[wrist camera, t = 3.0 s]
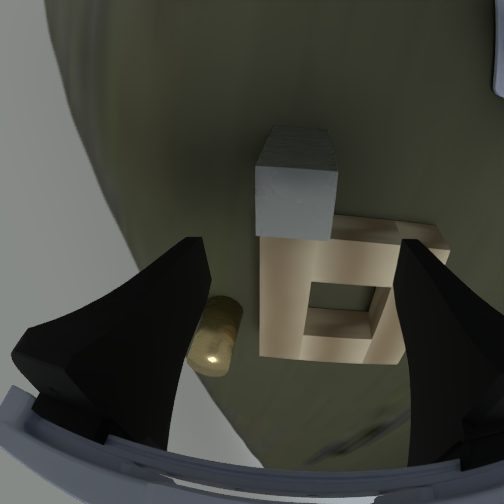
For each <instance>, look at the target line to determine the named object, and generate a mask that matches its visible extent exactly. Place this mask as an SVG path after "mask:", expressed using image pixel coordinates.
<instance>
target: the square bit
mask: <svg viewBox="0 0 504 504" xmlns="http://www.w3.org/2000/svg"><path fill="white" fill-rule="evenodd" d="M337 180H338V168H337V164H336V160H335V155H334V151H333V147H332V144H331V140H330V136H329V132H328V130H323V129H311V128H296V127H277V126H273V128H272V130H271V133H270V135H269V137H268V139H267V141H266V143H265V145H264V148H263V150H262V152H261V154H260V156H259V158H258V160H257V163H256V165H255V209H256V236H266V237H279V238H291V239H303V240H315V241H327V242H330V236H331V229H332V222H333V214H334V206H335V198H336V189H337Z"/></svg>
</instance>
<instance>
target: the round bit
mask: <svg viewBox="0 0 504 504" xmlns="http://www.w3.org/2000/svg"><path fill="white" fill-rule="evenodd" d="M242 315H243V309H242V307H241V305H240V304H239V303H238V302H237V301H235V300H234V299H232V298H229V297H226V296H216V297H213V298H211V299H210V300H209V301H208V303H207V306H206V309H205V311H204V314H203V317H202V319H201V322H200V325H199V327H198V330H197V333H196V335H195V338H194V341H193V343H192V346H191V349H190V352H189V354H188V357H187V363H188V365H189V366H190V367H191V368H192V369H193V370H195V371H196V372H198V373H200V374H203V375H206V376H211V377H220V376H223V375H225V374H227V372H228V369H229V365H230V361H231V358H232V354H233V350H234V346H235V342H236V338H237V334H238V330H239V327H240V323H241V319H242Z"/></svg>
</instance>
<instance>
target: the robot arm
mask: <svg viewBox="0 0 504 504" xmlns="http://www.w3.org/2000/svg"><path fill="white" fill-rule="evenodd" d="M495 12H496V46H495V66H494V78H493V91H494V93H495V94H496V95H498V96H501V97H503V98H504V0H495ZM211 281H212V279H211V275H210V270H209V266H208V262H207V257H206V253H205V249H204V244H203V240H202V237H186V238H184V239H183V240H181V241H180V242H179V243H177V244H176V245H175V246H173V247H172V248H171V249H169V250H168V251H167V252H166V253H164V254H163V255H162V256H161V257H159V258H158V259H157V260H155V261H154V262H153V263H152V264H150V265H149V266H148V267H146V268H145V269H144V270H142V271H141V272H139V273H138V274H137V275H135V276H134V277H133V278H131V279H130V280H129V281H127V282H126V283H124V284H123V285H121V286H120V287H118V288H117V289H115V290H113V291H112V292H110V293H108V294H107V295H105V296H103V297H102V298H100V299H98V300H96V301H94V302H92V303H90V304H88V305H86V306H84V307H83V308H81V309H78V310H76V311H74V312H72V313H69V314H67V315H65V316H62V317H60V318H57V319H55V320H52V321H49V322H46V323H43V324H40V325H37V326H35V327H31V328H28V329H27V330H26V332H25V333H24V335H23V336H22V337H21V339H20V341H19V342H18V343H17V345H16V346H15V348H14V349H13V351H12V353H11V357H12V360H13V362H14V364H15V365H16V367H17V368H18V369H19V370H20V372H21V373H22V374H23V375H24V376H25V377H26V378H27V379H28V380H29V382H30V383H31V384H32V385H33V386H34V387H35V388H36V389H37V390H38V391H39V392H40V393H39V395H38V397H37V398H35V397H34V396H32V395H31V394H30V393H28V392H25V391H24V390H22V389H20V388H18V387H16V386H14V385H12V386H11V388H10V390H9V391H8V393H7V395H6V397H5V399H4V400H3V402H2V404H1V406H0V447H1V448H2V449H3V450H5V451H6V452H7V453H8V454H10V455H11V456H12V457H14V458H15V459H16V460H17V461H19V462H20V463H21V464H23V465H24V466H26V467H27V468H28V469H30V470H31V471H33V472H34V473H36V474H37V475H38V476H40V477H42V478H43V479H44V480H46V481H47V482H49V483H51V484H52V485H54V486H55V487H57V488H59V489H60V490H62V491H64V492H65V493H67V494H69V495H71V496H72V497H74V498H76V499H77V500H79V501H81V502H83V503H85V504H316V503H293V502H279V501H268V500H259V499H251V498H244V497H237V496H230V495H224V494H218V493H213V492H208V491H204V490H199V489H194V488H190V487H186V486H182V485H177V484H176V483H175V482H174V481H173V480H172V479H171V478H168V477H172V478H176V479H180V480H184V481H189V482H193V483H198V484H202V485H207V486H212V487H217V488H223V489H228V490H235V491H241V492H249V493H257V494H265V495H276V496H290V497H311V498H345V497H364V496H365V497H366V496H378V497H376V498H375V499H374V503H372V504H504V315H502V314H501V313H500V312H498V311H497V310H495V309H494V308H493V307H491V306H490V305H489V304H488V303H487V302H485V301H484V300H483V299H482V298H480V297H479V296H478V295H477V294H475V293H474V292H473V291H472V290H471V289H470V288H469V287H468V286H466V285H465V284H464V283H463V282H462V281H461V280H460V279H459V278H458V277H457V276H456V275H455V274H454V273H452V272H451V271H450V270H449V269H448V268H447V267H446V266H445V265H444V264H443V263H442V262H441V261H440V260H439V259H438V258H437V257H436V256H435V255H434V254H433V253H432V252H431V251H430V250H429V249H428V248H427V247H426V246H425V245H424V244H423V243H422V242H420V241H419V240H418V239H402V240H401V246H400V251H399V256H398V261H397V266H396V271H395V275H394V280H393V290H394V298H395V305H396V310H397V314H398V319H399V323H400V327H401V331H402V335H403V340H404V344H405V349H406V353H407V358H408V365H409V374H410V388H411V432H410V447H409V457H408V465H407V467H405V468H396V469H386V470H373V471H352V472H310V471H289V470H276V469H265V468H256V467H247V466H240V465H233V464H226V463H220V462H214V461H209V460H204V459H199V458H194V457H189V456H184V455H180V454H175V453H171V452H167V445H168V437H169V429H170V422H171V417H172V411H173V405H174V400H175V395H176V391H177V386H178V382H179V377H180V373H181V370H182V366H183V362H184V359H185V356H186V353H187V350H188V347H189V345H190V342H191V340H192V337H193V335H194V332H195V330H196V327H197V325H198V322H199V320H200V317H201V315H202V312H203V310H204V307H205V304H206V301H207V297H208V294H209V289H210V285H211ZM157 473H158V474H157ZM160 474H162V475H165V476H168V477H165V476H162V475H160ZM379 495H382V496H379Z"/></svg>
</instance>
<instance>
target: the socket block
mask: <svg viewBox="0 0 504 504" xmlns="http://www.w3.org/2000/svg"><path fill="white" fill-rule="evenodd" d="M402 239H418V240H419V241H420V242H422V243H423V244H424V245H425V246H426V247H427V248H428V249H429V250H430V251H431V252H432V253H433V254H434V255H435V256H436V257H437V258H438V259H439V260H440V261H441V262H442V263H443V264H444V265H445V263H446V261H447V258H448V256H449V253H450V249H449V247H448V245H447V243H446V242H445V240H444V238H443V236H442V234H441V233H440V231H439V229H438V228H437V226H436V225H428V224H420V223H411V222H403V221H394V220H385V219H376V218H366V217H356V216H345V215H335V214H333V222H332V229H331V236H330V242H327V241H315V240H303V239H291V238H279V237H266V236H260V356H267V357H276V358H286V359H297V360H309V361H323V362H339V363H361V364H398V362H399V361H400V359H401V357H402V355H403V353H404V352H405V350H406V349H405V344H404V340H403V335H402V331H401V327H400V323H399V319H398V314H397V310H396V305H395V298H394V290H393V280H394V275H395V271H396V266H397V261H398V256H399V251H400V246H401V240H402ZM311 281H313V282H325V283H338V284H351V285H364V286H376V290H375V293H374V296H373V299H372V302H371V305H370V309H369V312H365V311H350V310H336V309H322V308H310V307H308V301H309V294H310V287H311Z"/></svg>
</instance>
